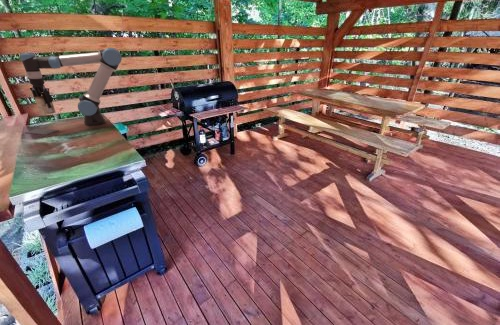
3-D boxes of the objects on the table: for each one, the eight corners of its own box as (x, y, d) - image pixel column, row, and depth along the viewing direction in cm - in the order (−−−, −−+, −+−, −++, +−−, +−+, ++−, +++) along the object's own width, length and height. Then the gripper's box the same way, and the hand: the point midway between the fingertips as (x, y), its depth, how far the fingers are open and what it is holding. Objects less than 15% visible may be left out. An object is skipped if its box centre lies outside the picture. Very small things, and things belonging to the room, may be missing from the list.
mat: (38, 129, 184) (38, 128, 184) (59, 130, 180) (59, 130, 180) (24, 133, 175) (24, 132, 175) (46, 135, 171) (46, 134, 171)
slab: (51, 112, 175) (45, 95, 170) (55, 112, 174) (50, 95, 169) (40, 114, 168) (34, 97, 163) (45, 114, 167) (38, 97, 162)
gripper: (19, 78, 159) (32, 112, 169) (40, 79, 156) (52, 114, 166) (30, 77, 165) (42, 110, 175) (51, 78, 163) (62, 111, 173)
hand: (47, 112), depth 171 cm, fingers closed on slab, 4 cm apart
